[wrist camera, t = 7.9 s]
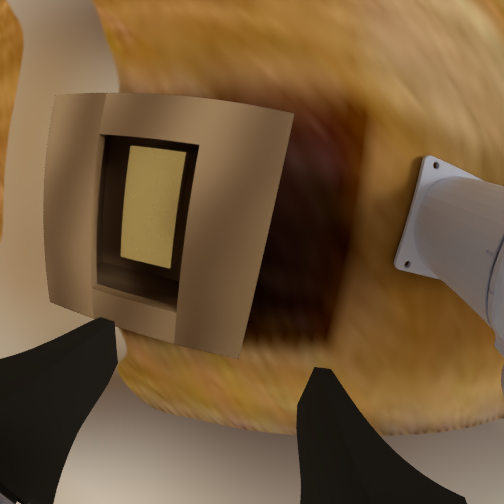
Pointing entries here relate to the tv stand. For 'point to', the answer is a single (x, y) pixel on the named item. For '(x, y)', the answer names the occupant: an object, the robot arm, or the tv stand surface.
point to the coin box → (198, 222)
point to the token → (157, 203)
